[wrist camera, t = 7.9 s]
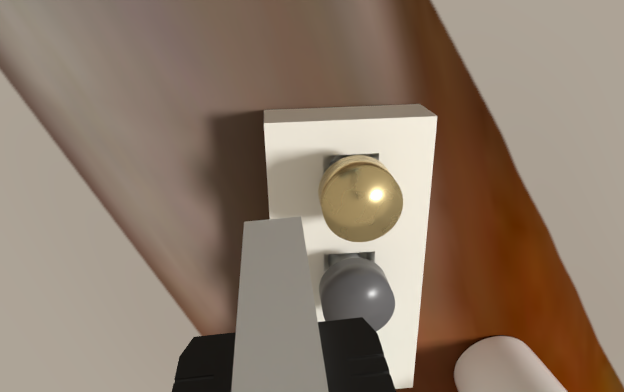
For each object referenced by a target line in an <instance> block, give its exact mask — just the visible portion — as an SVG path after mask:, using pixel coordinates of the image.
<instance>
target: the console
mask: <svg viewBox="0 0 624 392" xmlns="http://www.w3.org/2000/svg"><path fill="white" fill-rule="evenodd" d="M436 125H437V116H436V115H435V114H433V113H432V112H431V111H429V110H428V109H426V108H425V107H423V106H422V105H420V104H406V105H380V106H355V107H329V108H303V109H277V110H264V135H265V151H266V167H267V184H268V200H269V217H270V219H278V218H289V217H300V216H301V219H302V226H303V232H304V238H305V245H306V251H307V257H308V264H309V270H310V276H311V283H312V289H313V295H314V302H315V308H316V315H317V321H318V322H322V321H325V319H324V316H323V311H322V306H321V300H320V295H319V284H320V281H321V278H322V276H323V274H324V273H325V272H326V271H327V270H328V268H329V264H328V255H329V254H342V253H357V252H360V254H361V257H362V258H364V259H368V260H371V261H373V262H375V263H376V264H377V265H378V266H380V267H381V269H382V270H383V272H384V273H385V276H386V278H387V280H388V283H389V285H390V287H391V290H392V292H393V294H394V298H395V309H394V313H393V315H392V317H391V318H390V320H389V321H388V323H387V324H386V325H385V326H384V327H382V328H381V329H380V330H378V331H376V332H377V334H378V337H379V340H380V343H381V346H382V349H383V352H384V358H385V359H386V362H387V365H388V368H389V373H390V375H391V377H392V381H393V384H394V387H395V389H400V388H412V387H413V379H414V368H415V357H416V346H417V335H418V324H419V313H420V302H421V291H422V280H423V269H424V258H425V247H426V236H427V225H428V213H429V202H430V191H431V180H432V169H433V158H434V147H435V136H436ZM351 154H356V155H364V156H369V157H372V158H374V159H377V160H378V161H380V162H381V163H382V164H383V165H384V166H385V167H386V168H387V169H388V171H389V172H390V173H391V175H392V176H393V178H394V179H395V180H396V182H397V183H398V185H399V187H400V189H401V192H402V195H403V209H402V212H401V215H400V218H399V219H398V221H397V223H396V224H395V225H394V227H393V228H392V229H391V230H390V231H389V232H387V233H386V234H385V235H383V236H381V237H379V238H377V239H375V240H372V241H368V242H351V241H347V240H345V239H342V238H340V237H338V236H337V235H336V234H334V233H333V232H332V231H331V230H330V229H329V227H328V226H327V224H326V222H325V220H324V217H323V213H322V209H321V205H320V201H319V196H318V190H319V184H320V181H321V179H322V177H323V175H324V173H325V172H326V170H327V169H328V167H329V164H330V162H331V160H332V159H333V158H334V157H335V156H337V155H351Z"/></svg>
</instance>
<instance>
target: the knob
mask: <svg viewBox="0 0 624 392" xmlns="http://www.w3.org/2000/svg"><path fill="white" fill-rule="evenodd" d="M318 196H319V201H320V205H321V209H322V213H323V217H324V220H325V222H326V224H327V226H328V227H329V229H330V230H331V231H332V232H333V233H334V234H336V235H337V236H338V237H340V238H342V239H345V240H347V241H351V242H368V241H372V240H375V239H377V238H379V237H381V236H383V235H385V234H386V233H387V232H389V231H390V230H391V229H392V228H393V227H394V225H395V224H396V223H397V221H398V219H399V218H400V215H401V212H402V209H403V195H402V192H401V189H400V187H399V185H398V183H397V182H396V180H395V179H394V178H393V176H392V175H391V173H390V172H389V171H388V169H387V168H386V167H385V166H384V165H383V164H382V163H381V162H380V161H378V160H377V159H374V158H372V157H369V156H364V155H356V154H351V155H337V156H335V157H334V158H333V159H332V160H331V162H330V164H329V167H328V169H327V170H326V172H325V173H324V175H323V177H322V179H321V181H320V184H319V190H318Z"/></svg>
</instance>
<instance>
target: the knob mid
mask: <svg viewBox="0 0 624 392" xmlns="http://www.w3.org/2000/svg"><path fill="white" fill-rule="evenodd" d="M328 264H329V268H328V270H327V271H326V272H325V273H324V274H323V276H322V278H321V281H320V284H319V295H320V300H321V306H322V311H323V316H324V319H325V321H332V320H341V319H350V318H359V317H363V318H364V320H365V321H366V322H367V323H368V324H369V325H370V326H371V327H372V328H373V329H374V330H375V331H378V330H380V329H381V328H382V327H384V326H385V325H386V324H387V323H388V321H389V320H390V318H391V317H392V315H393V313H394V309H395V298H394V294H393V292H392V290H391V287H390V285H389V283H388V280H387V278H386V276H385V273H384V272H383V270H382V269H381V267H380V266H378V265H377V264H376V263H375V262H373V261H371V260H368V259H364V258H362V257H361V254H360V252H357V253H342V254H329V255H328Z"/></svg>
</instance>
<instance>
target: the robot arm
mask: <svg viewBox="0 0 624 392" xmlns="http://www.w3.org/2000/svg"><path fill="white" fill-rule="evenodd" d="M172 392H396V390H395V387H394V384H393V381H392V377H391V375H390V373H389V368H388V365H387V362H386V359H385V358H384V352H383V349H382V346H381V343H380V340H379V337H378V334H377V332H376V331H375V330H374V329H373V328H372V327H371V326H370V325H369V324H368V323H367V322H366V321H365V320H364V318H363V317H359V318H350V319H341V320H332V321H322V322H318V321H317V315H316V308H315V302H314V295H313V289H312V283H311V276H310V270H309V264H308V257H307V251H306V245H305V238H304V232H303V226H302V219H301V216H300V217H289V218H278V219H268V220H257V221H247V222H244V231H243V244H242V257H241V270H240V283H239V296H238V309H237V323H236V333H227V334H217V335H208V336H199V337H194V338H193V339H192V340H191V342H190V343H189V344H188V346H187V347H186V349H185V350H184V351H183V353H182V354H181V356H180V357H179V362H178V366H177V371H176V376H175V383H174V385H173V389H172Z"/></svg>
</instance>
